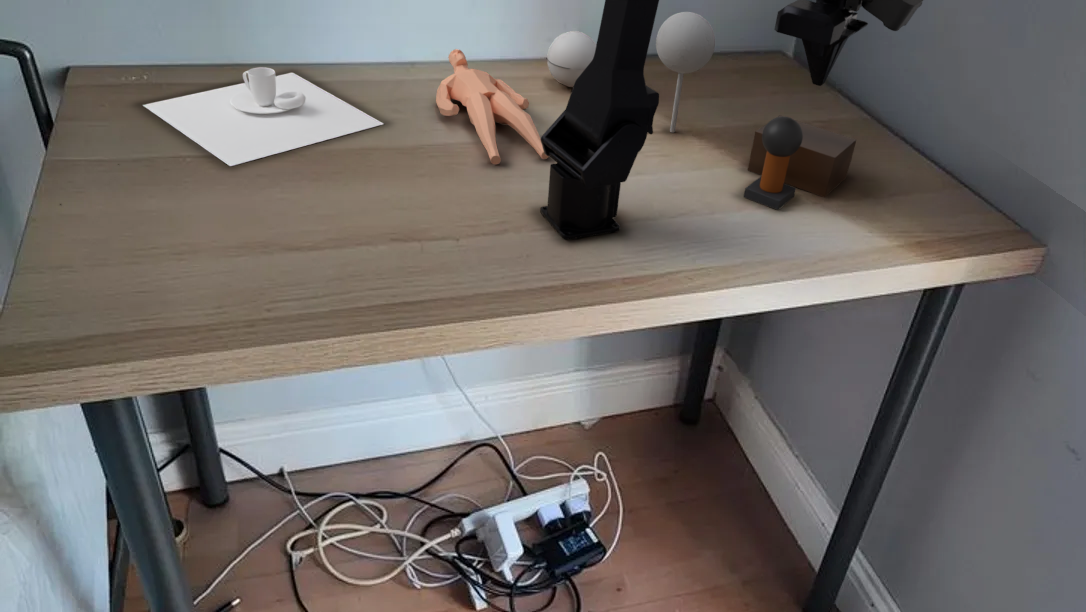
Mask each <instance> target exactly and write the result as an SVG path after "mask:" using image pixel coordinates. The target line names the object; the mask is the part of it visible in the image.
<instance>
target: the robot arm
mask: <svg viewBox="0 0 1086 612" xmlns="http://www.w3.org/2000/svg"><path fill="white" fill-rule="evenodd" d="M923 1H924V0H815V1H811V0H795V1H793V2H790V3H789V4H787V5H785V6H784V7H783V8H781V9H780V10H779V11H777V14H776V19H775V25H774V32H776V33H778V34H782V35H785V36H789V37H793V38H797V39H800V40H801V42H802V46H803V49H804V53H805V55H806V61H807V65H808V71H809V74H810V79H811V83H812V84H813V85H815V86H818V87H821V86H823V85H824V84H825V82H826V81H827V79H828V77H829V75H830V73H831V71H832V69H833V67H834V65H835V64H836V61H837V59H838V57H839V56H840V54H841V52H842V50H843V49H844V46H845V44H847V43H846V42H847V41H848V39H849V38H850V37H851V36H853V35H854V34H856V33H858V32H859V31H861V30H862V29H864V28H866V27H867V26H868V25H869V23H868V22H867V21H865V20H860V19H857V18H858V15H859V14H858V11H860V8H861V7H862V8H863V9H864V10H865V11H867V13H870V15H872V16H873V17H875V18H876V19H877V20H879V21H880V22H882V24H883V27H885V28H887V29H888V30H890V31H892V32H898V31H899V30H900V29H901V28H902V27H904V26H905V27H906V26H907V24H908V23H909V21H910V20H911V19H912V17H913V16H914V14H915V13H916V12H917V10H918V9H919V8H920V7H921V6H922V5H923ZM659 3H660V0H604V5H603V10H602V14H601V20H600V25H599V30H598V35H597V40H596V44H597V45H596V50H595V54H594V57H593V60H592V61H591V62H590V64H589V65H588V66H587V67H586V69H585V70H584V71H583V72H582V73H581V75H580V76H579V77H578V78H577V80H576V81H575V84H574V87H572V90H571V92H570V95H569V98H568V100H567V101H568V102H567V104H566V106H565V109H564V110H563V111H562V113H561V114H560V115H559V116H558V117H556V119H555V120H554V122H553V123H552V124H551V125H550V126H549V127H548V128H547V130H546V131H545V132H544V133H543V134H542V135H541V136H540V138H541V143H542V146H543V150H544V153H545V154H546V155H547V156H549V158H551V159H552V160H553V161H554V162H556V163H551V164H550V166H549V181H548V195H547V205H543V206H541V207H539V208H540V210H539V213H540V214H541V215H542V216H543V217H544V219H545V220H546V221H547V222H548V223H549V224H550V226H552V228H553V229H554V230H555V231H556V232H557V233H558V234H559V235H560V237H561V238H562V239H564V240H575V239H581V238H585V237H586V238H587V237H592V236H593V237H594V236H599V235H603V234H610V233H616V232H619V231H620V229H621V225H620V224H619V223H618V222H617V221H616V220H615V218H617V216H618V209H619V201H620V192H621V185H622V184H621V183H625V182H626V181H627V179H628V178H629V176H630V173H631V171H632V168H633V166H634V164H635V161H636V158H637V157H638V154H639V152H641V151H642V149H643V147H644V146H645V143H646V140H647V139H648V138H647V137H648V134H649V135H653V134H654V127H653V124H654V118H655V115H656V111H657V110H658V107H659V103H660V93H659V92H658V91H656V90H654V89H653V88H651V87H650V86H649V85H648V84H646V78H645V73H644V72H645V65H646V60H647V56H648V53H649V52H648V51H649V47H650V43H651V38H652V34H653V29H654V26H655V21H656V16H657V11H658V7H659Z"/></svg>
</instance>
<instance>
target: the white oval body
mask: <svg viewBox="0 0 1086 612" xmlns="http://www.w3.org/2000/svg"><path fill="white" fill-rule="evenodd" d="M596 45H597V42H596V41H594V39H593V38H592V37H591V36H590V35H588V34H586V33H584V32H582V31H578V30H570V31H567V32H563V33H561V34H559V35H558V36H557V37H555V38H554V39H553V41H552V42H551V44H550V46H549V47H548V49H547V54H546V62H547V68H548V70H549V74H550V75H551V76H552V77H553V79H554V80H556V82H557V83H558V84H561V85H563V86H566V87H568V88H573V87H574V84H575V81H576V80H577V78H578V77H579V76H580V75H581V73H582V72H583V71H584V70H585V69H586V67H587V66H588V65H589V64H590V62H591V61H592V60H593V57H594V54H595V50H596Z"/></svg>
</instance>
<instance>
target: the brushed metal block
mask: <svg viewBox="0 0 1086 612" xmlns="http://www.w3.org/2000/svg"><path fill="white" fill-rule="evenodd" d="M781 116H782V115H781V114H779V115H778V116H777V117H781ZM794 120H795V121H796V122H797V123H798V124H799V125H800V127H801V129H802V133H803V139H802V143H801V145H800V147H799V149H798V150H797V151H796V152H795V153H794V154H792V155H790V159H789V163H788V167H787V172H786V176H785V180H784V184H786V185H789V186H792V187H795V188H796V189H800V190H803V191H805V192H808V193H811V194H814V195H817V196H820V197H822V198H826V197H827V196H828V195H829V194H830V193H831V192H832V191H833V190H835V189H836V187H838V186H839V185H841V183H842V182H843V181H845V180H846V179H847V176H848V172H849V169H850V165H851V161H852V158H853V154H854V150H855V147H856V143H857V139H856V138H853V137H850V136H847V135H843V134H841V133H838V132H834V131H831V130H828V129H826V128H822V127H819V126H816V125H813V124H809V123H806V122H803V121H799V120H798V119H794ZM766 125H767V123H766V124H765V125H763V126H761V127H760V128H758V129H757V130H755V131H754V135H753V137H754V138H753V141H752V145H751V146H752V147H751V151H750V156H749V162H748V166H747V171H748V172H751V173H754V174H757V175H760V176H762V172H763V167H764V163H765V158H766V153H767V150H766V149H765V147H764V145H763V142H762V133H763V130H764V128H765V126H766Z"/></svg>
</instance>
